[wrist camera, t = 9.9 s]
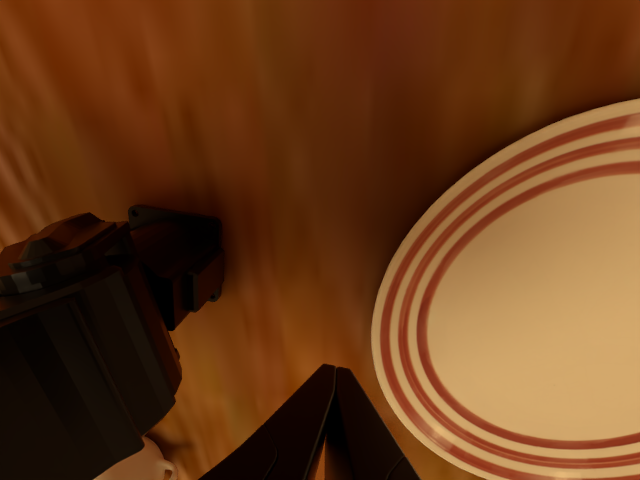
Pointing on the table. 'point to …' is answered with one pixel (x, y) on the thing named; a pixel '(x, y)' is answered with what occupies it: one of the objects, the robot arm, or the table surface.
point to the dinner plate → (525, 309)
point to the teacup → (141, 465)
